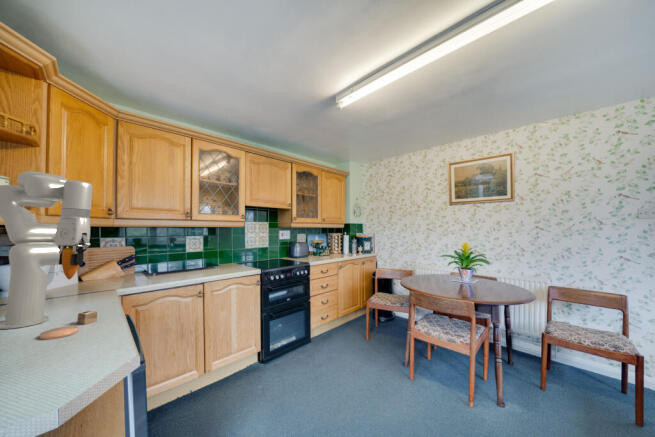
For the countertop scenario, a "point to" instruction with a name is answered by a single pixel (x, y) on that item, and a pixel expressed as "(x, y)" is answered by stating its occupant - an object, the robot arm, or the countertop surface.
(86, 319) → the letter cube
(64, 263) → the carrot
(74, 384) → the countertop surface
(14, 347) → the countertop surface
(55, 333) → the peach glossy dome
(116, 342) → the countertop surface
